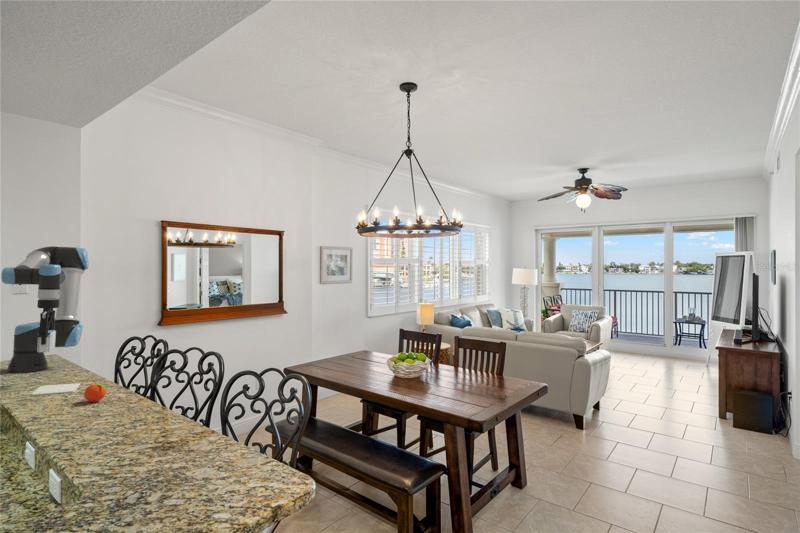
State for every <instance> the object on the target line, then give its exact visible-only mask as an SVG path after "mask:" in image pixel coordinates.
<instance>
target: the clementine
mask: <svg viewBox="0 0 800 533" xmlns="http://www.w3.org/2000/svg"><path fill="white" fill-rule="evenodd" d="M106 389H107V388H106V387H105V386H104V385H103V384H102V383H93V384H90V385H88V386H87V387H86V388H85V390H84V393H83V395H84V398H85V400H87V401H88V402H90V403H92V402H93V403H95V402H96V403H97V402H99V401H101V400H102V399H103V398H104V397H105V395H106V393H107V390H106Z"/></svg>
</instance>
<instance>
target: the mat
mask: <svg viewBox="0 0 800 533" xmlns="http://www.w3.org/2000/svg"><path fill="white" fill-rule="evenodd" d="M79 385H80V386H81V382H79V383H77V382H76V383H63V384H62V383H61V384H49V385H40V386H38V387H37V388H36V390H34V391H33V392H32V393H31V394H30V396H31V397H32V396H44V395H55V394H56V395H57V394H69V393H71V394H72V393H75V392H76V391H77V389H78V388H79V387H80V386H79Z"/></svg>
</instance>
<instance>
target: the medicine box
mask: <svg viewBox="0 0 800 533" xmlns="http://www.w3.org/2000/svg"><path fill="white" fill-rule="evenodd" d="M38 335H39V333H38ZM47 337H48V352H47V353H50V352H51V351H53V350H55V348H56V347H55V338H56V331H55V330H48V336H47ZM39 349H40V337H38V345H37V352H39Z"/></svg>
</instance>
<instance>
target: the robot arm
mask: <svg viewBox="0 0 800 533" xmlns="http://www.w3.org/2000/svg"><path fill="white" fill-rule="evenodd" d="M89 268H90V266H89V255H88V251H87V249H86V248H83V247H77V246H75V247H70V246H69V247H68V246H54V245H53V246H46V247H45V246H44V247H41V248H38V249H33V250H32V251H31V252H29V253H28V254H27V255H26V258H25V259H23V261H22V262H20V263H19V264H18V265H16V266H15V267H12V266H10V267H4V268H3V269H2V271H1V274H0V276H1V282H2V283H3V284H5V285H34V286H35V285H38V288H37V299H38V300H37V305H36V306H37V308H38V309H42V312H41V313H40V315H39V316H40V319H39V322H29V323H23V324H19V325H17V326H15V328H14V334H13V351H12V352H13V354H12V357H11V359H10V361H9V364H8V366H7V372H8V373H12V374H13V373H32V372H39V371H43V370H46V369H48V368H49V367H48V365H49V364H48V360H47V358H46V355H45V353H49V352H48V337H47V336H48V330H55V331H56V338H55V348H70V347H71V348H72V347H76V346H78V344H79V343H80V340H81V339H82V338H81V337H82V334H83V328H84V327H83V326H84V325H83V324H82V323H80V320H79V319H78V318H77V315H78V303H79V296H80V295H79V294H80V287H81V286H80V285H81V276H82V275H83V274H84V273H85V272H86V271H85V270H88V269H89ZM54 309H56V310H54ZM38 333H39V335H38ZM38 337H40V349H39V352H37V345H38Z"/></svg>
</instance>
